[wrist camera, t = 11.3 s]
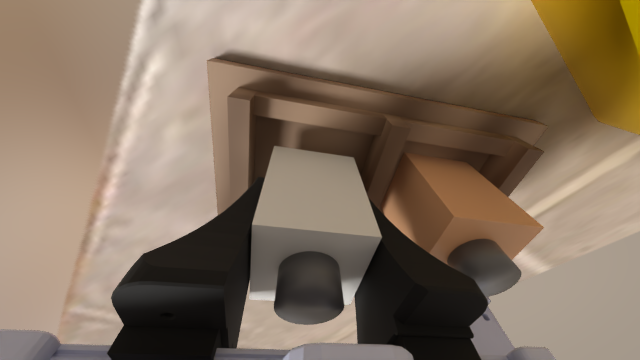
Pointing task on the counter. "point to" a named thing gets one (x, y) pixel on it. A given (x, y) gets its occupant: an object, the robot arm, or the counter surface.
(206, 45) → the counter surface
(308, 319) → the grey plug
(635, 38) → the element tile
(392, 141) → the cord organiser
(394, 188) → the orange plug
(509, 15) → the counter surface
